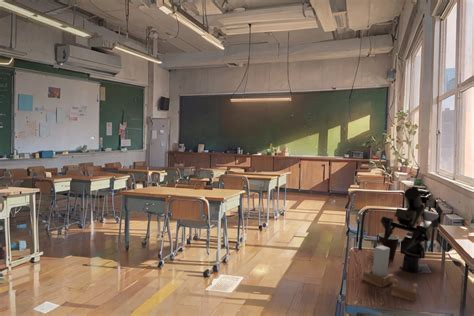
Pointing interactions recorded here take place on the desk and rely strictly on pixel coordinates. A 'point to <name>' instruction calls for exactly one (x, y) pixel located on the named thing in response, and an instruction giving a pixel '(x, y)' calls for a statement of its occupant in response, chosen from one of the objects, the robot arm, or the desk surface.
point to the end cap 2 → (403, 291)
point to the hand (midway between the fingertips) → (395, 244)
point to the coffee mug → (389, 243)
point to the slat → (381, 261)
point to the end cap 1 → (377, 278)
